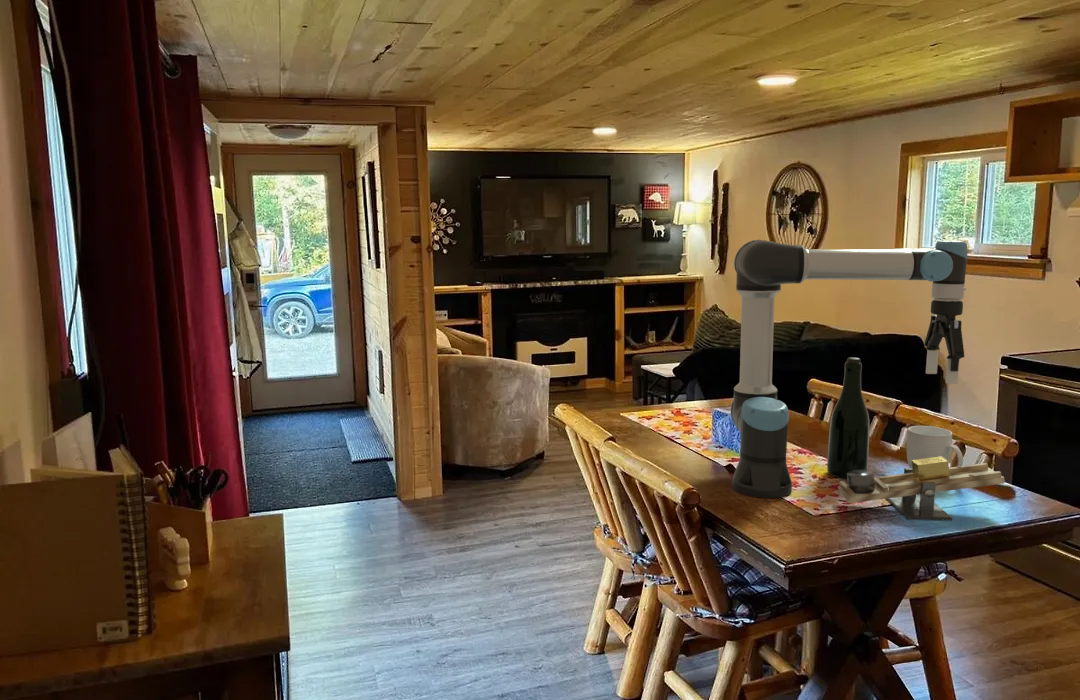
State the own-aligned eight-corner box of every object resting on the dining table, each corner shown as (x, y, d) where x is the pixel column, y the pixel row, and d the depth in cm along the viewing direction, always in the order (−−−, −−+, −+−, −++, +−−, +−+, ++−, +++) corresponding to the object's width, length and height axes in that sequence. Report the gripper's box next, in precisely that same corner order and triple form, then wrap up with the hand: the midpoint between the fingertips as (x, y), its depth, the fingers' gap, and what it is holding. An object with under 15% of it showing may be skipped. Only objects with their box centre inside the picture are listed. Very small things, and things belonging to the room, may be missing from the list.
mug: (971, 481, 209) (975, 434, 207) (949, 489, 203) (952, 441, 201) (918, 467, 221) (921, 423, 219) (896, 474, 215) (899, 429, 213)
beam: (848, 503, 187) (847, 492, 186) (838, 492, 194) (837, 481, 194) (1004, 483, 183) (1003, 471, 182) (988, 472, 191) (987, 461, 190)
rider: (919, 485, 186) (917, 465, 186) (913, 479, 190) (911, 460, 190) (950, 481, 186) (948, 461, 185) (943, 475, 190) (941, 456, 189)
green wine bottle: (836, 466, 223) (843, 353, 218) (873, 474, 216) (881, 357, 211) (820, 474, 216) (826, 357, 211) (857, 483, 208) (864, 362, 203)
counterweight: (853, 495, 187) (851, 479, 187) (845, 487, 193) (843, 471, 193) (878, 491, 187) (876, 476, 186) (870, 483, 192) (868, 468, 192)
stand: (907, 519, 182) (910, 485, 181) (885, 497, 197) (887, 465, 196) (951, 520, 182) (954, 486, 180) (925, 498, 196) (928, 466, 195)
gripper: (983, 304, 192) (976, 387, 196) (943, 295, 217) (937, 370, 220) (951, 304, 193) (945, 387, 197) (915, 295, 218) (909, 369, 221)
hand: (940, 378), depth 208 cm, fingers open, 13 cm apart
